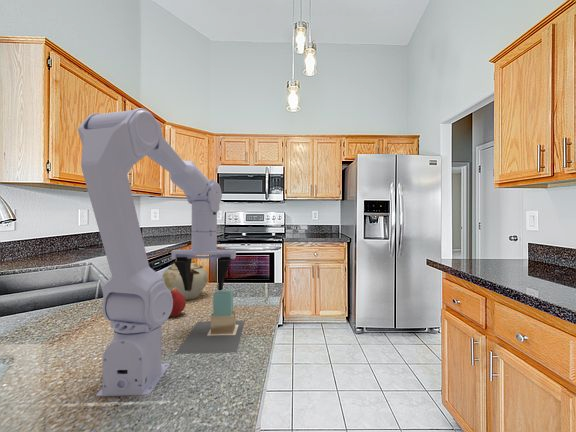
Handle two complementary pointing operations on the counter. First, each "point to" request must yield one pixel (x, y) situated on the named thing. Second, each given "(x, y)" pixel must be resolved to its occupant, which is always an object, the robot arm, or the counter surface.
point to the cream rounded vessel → (196, 279)
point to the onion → (177, 303)
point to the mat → (211, 340)
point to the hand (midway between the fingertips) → (204, 289)
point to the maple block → (223, 324)
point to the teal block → (223, 303)
